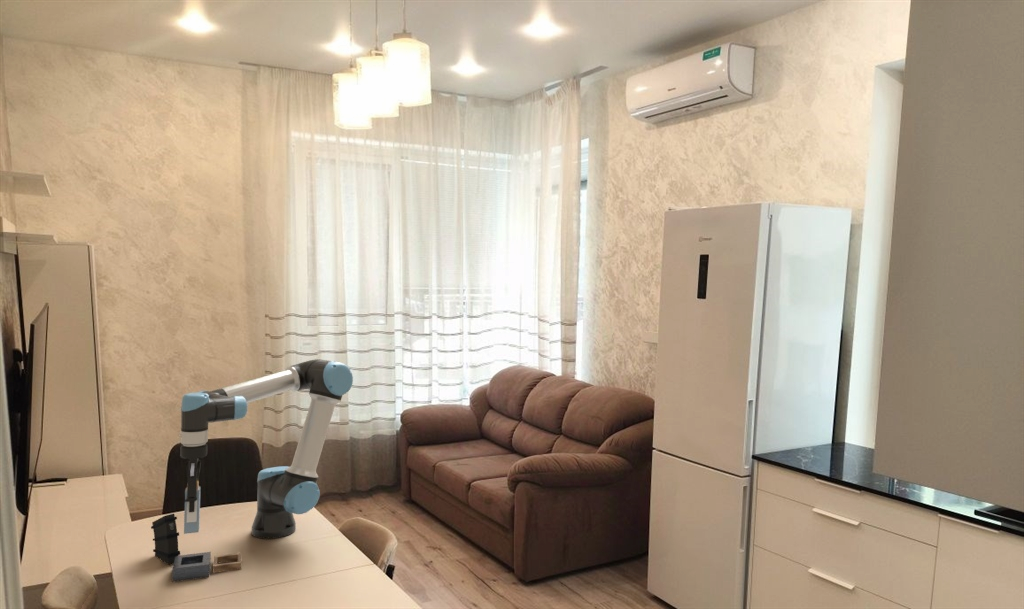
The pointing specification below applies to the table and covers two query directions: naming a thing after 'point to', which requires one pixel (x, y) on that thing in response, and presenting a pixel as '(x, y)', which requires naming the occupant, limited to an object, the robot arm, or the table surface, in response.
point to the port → (191, 566)
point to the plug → (194, 526)
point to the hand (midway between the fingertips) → (192, 519)
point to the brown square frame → (227, 565)
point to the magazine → (166, 538)
